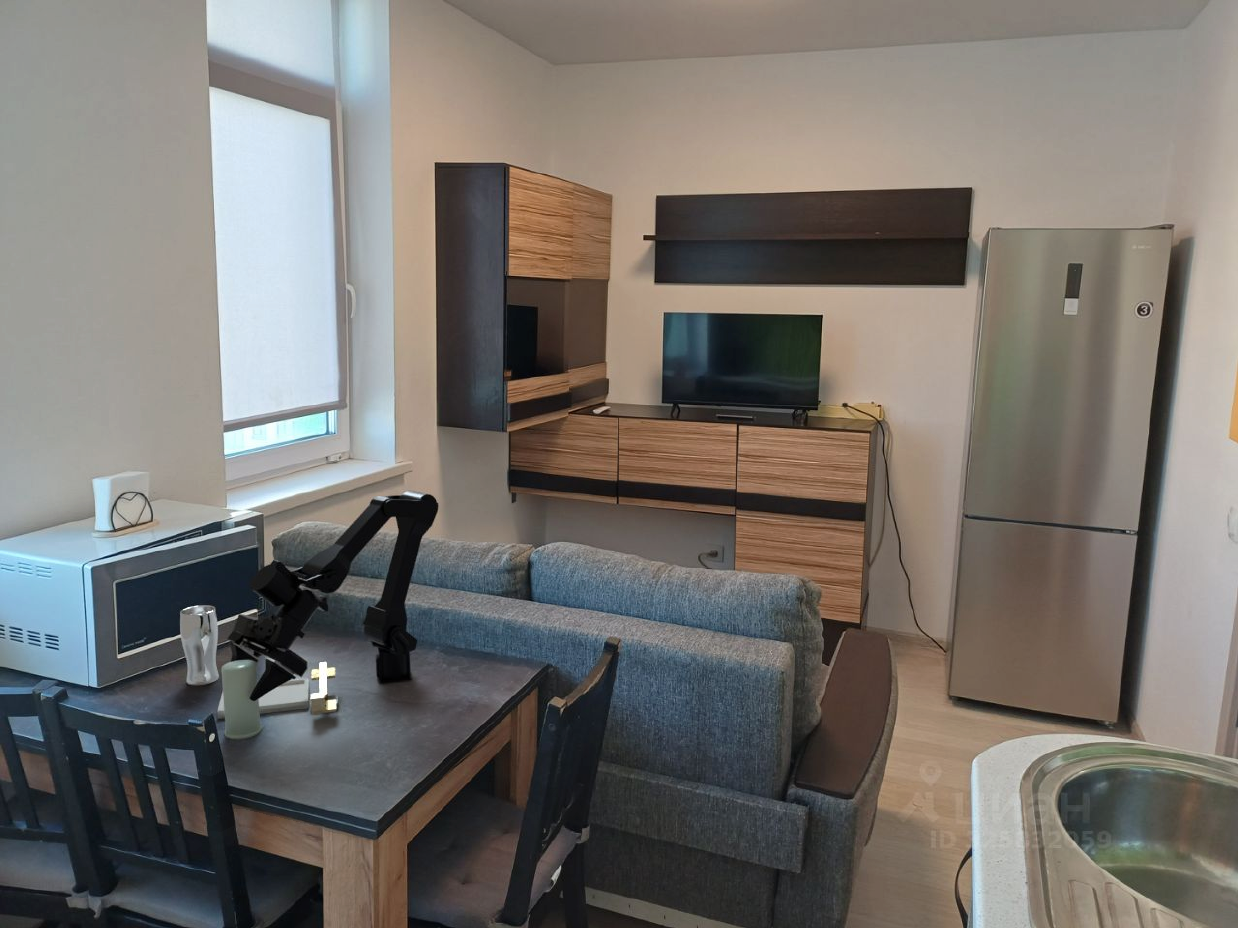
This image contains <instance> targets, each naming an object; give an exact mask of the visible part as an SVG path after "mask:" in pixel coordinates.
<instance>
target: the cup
mask: <svg viewBox="0 0 1238 928" xmlns="http://www.w3.org/2000/svg"><path fill="white" fill-rule="evenodd" d="M257 665H258V664H257V663H256V662H255V661H252V660H238V661H233V662H231V661H229V662H227V663H225V664H224V665H222V666H221V667H220V668H221V669H220V670H221V679H222V681H221V682H222V683H221V684H222V692H223V698H224V712H225V718H224V724H225V729H224V736H225V738H227V739H229V738H230V739H229V740H244V739H245V740H246V739H248V738H253V737H255V736H257V735H259V734H260V732H262V730H263V729H262V727H263V726H262V724H261V714H260V711H259V699H257V700H256V701H252V700H250V699H249V698H250V695H251V694H252V692H253V690H254V688H255V686H256V685H257V683H258V681H259V679H258V668H257V667H258V666H257Z"/></svg>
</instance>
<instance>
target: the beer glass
mask: <svg viewBox="0 0 1238 928" xmlns="http://www.w3.org/2000/svg"><path fill="white" fill-rule="evenodd" d="M179 614H180V617H179V618H180V619H179V626H180V627H179V630H180V640H181V645H182V648H183V651H184V652H183V653H184V656H185V660H186V663H187V664H186V665H187V671H186V672H187V673H186V683H187V684H188V685H190V686H205V685H210V684H212V683H215V682H217V681H218V680H219V678H220V675H219V672H218V668H217V663H216V662H217V661H216V657H217V648H218V640H219V639H218V638H219V630H218V629H219V627H218V626H219V625H218V618H217V613H216V607H215V606H213V605H209V604H208V605H206V604H205V605H204V604H201V605H194V606H189V607H186V608H184V609H181V610H180V611H179Z"/></svg>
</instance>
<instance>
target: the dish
mask: <svg viewBox="0 0 1238 928" xmlns="http://www.w3.org/2000/svg"><path fill="white" fill-rule="evenodd" d="M309 698H310V677H300V678H295V679H291V680H289V681H287V682H286V683H284V684H282V685H280V686H278V687H277V688H275V689H273V690H272V691H270V692H268V693H267V694H265V695H264V696H262V697H261V698H259V711H260V715H262V714H270V713H271V714H272V713H277V712H278V713H279V712H285V711H286V712H287V711H297V710H302V709H303V710H305V709H308V708H309V701H310V700H309ZM219 719H225V712H224V698H223V691H222V693H221V697H220V700H219V703H218V708H217V720H219Z"/></svg>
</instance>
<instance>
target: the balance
mask: <svg viewBox="0 0 1238 928" xmlns="http://www.w3.org/2000/svg"><path fill="white" fill-rule="evenodd" d="M335 678H336V667H335V666H334V667H327V662H326V661H324V662H319V668H317V669H316V668H315V669H311V681H318V680H319V692H316V693H310V713H311V715H317V714H324V713H325V714H326V713H327V714H328V713H332V712H333V713H334V712H337V710H339V695H338V694H332V695H329V692H328V691H329V690H328V681H327V680H328V679H335Z"/></svg>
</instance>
